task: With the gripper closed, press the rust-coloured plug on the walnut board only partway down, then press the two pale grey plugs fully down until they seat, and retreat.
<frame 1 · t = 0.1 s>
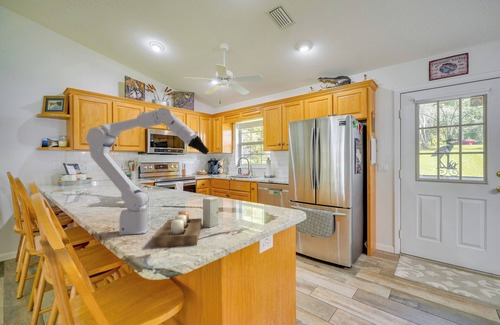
hand: (207, 152, 91), 32 cm above the worktop, tool tilted 50°, fingers open, 7 cm apart
skincare box: (210, 225, 95), on the worktop
grey plug middle: (180, 221, 83), point 5 cm above the worktop, slide at 0.0 cm
board: (180, 234, 83), on the worktop
grey plug near: (177, 226, 76), point 5 cm above the worktop, slide at 0.0 cm
rust plug: (183, 216, 90), point 5 cm above the worktop, slide at 0.0 cm
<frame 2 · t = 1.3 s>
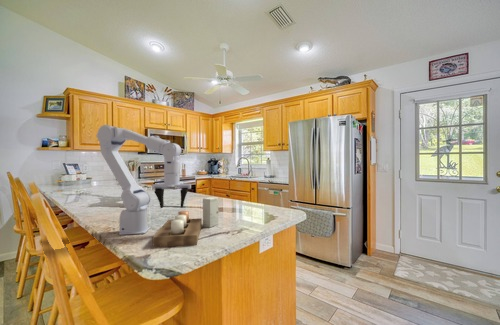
hand: (172, 207, 86), 10 cm above the worktop, tool pointing down, fingers open, 7 cm apart
nothing on the worktop moved.
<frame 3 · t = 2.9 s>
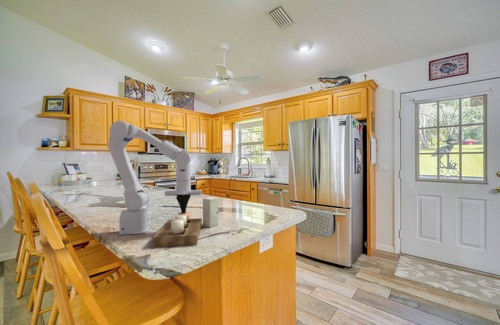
hand: (183, 212, 90), 7 cm above the worktop, tool pointing down, fingers closed, pressing on rust plug
rust plug: (183, 217, 90), point 5 cm above the worktop, slide at 0.4 cm, touching gripper
everything else where it was.
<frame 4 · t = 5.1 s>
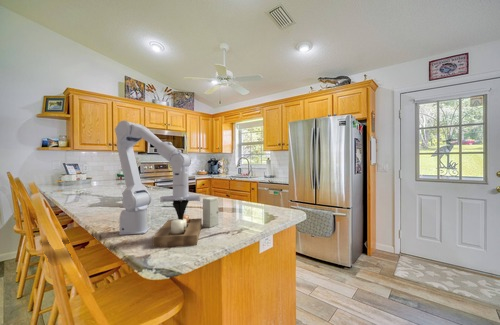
hand: (180, 220, 83), 6 cm above the worktop, tool pointing down, fingers closed, pressing on grey plug middle
grey plug middle: (180, 225, 83), point 4 cm above the worktop, slide at 1.5 cm, touching gripper
rust plug: (183, 220, 90), point 4 cm above the worktop, slide at 1.7 cm
everything else where it was.
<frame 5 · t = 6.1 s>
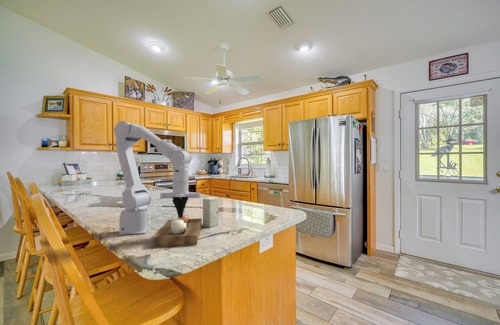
hand: (180, 217, 83), 7 cm above the worktop, tool pointing down, fingers closed
grey plug middle: (180, 228, 83), point 2 cm above the worktop, slide at 3.0 cm
everything else where it was.
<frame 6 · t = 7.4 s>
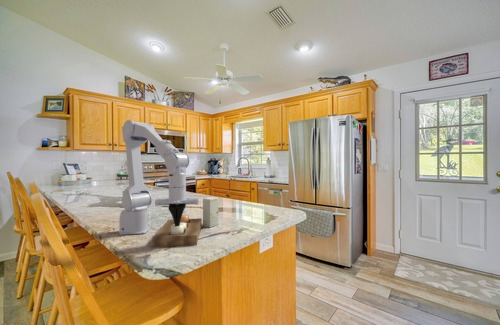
hand: (177, 225, 76), 6 cm above the worktop, tool pointing down, fingers closed, pressing on grey plug near
grey plug near: (177, 230, 76), point 4 cm above the worktop, slide at 1.5 cm, touching gripper
everything else where it was.
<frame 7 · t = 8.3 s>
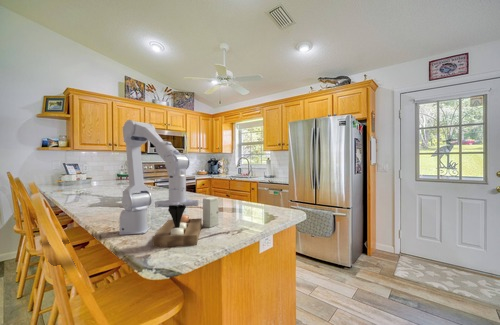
hand: (177, 227, 76), 5 cm above the worktop, tool pointing down, fingers closed
grey plug near: (177, 235, 76), point 2 cm above the worktop, slide at 3.0 cm
everything else where it was.
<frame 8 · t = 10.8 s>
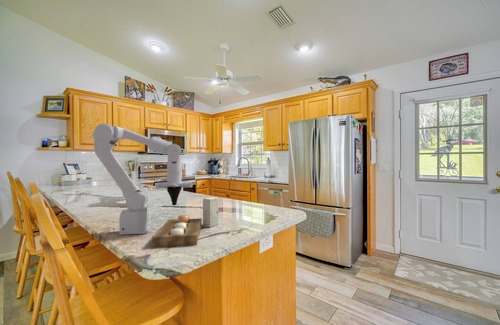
hand: (174, 204, 91), 10 cm above the worktop, tool pointing down, fingers closed
nothing on the worktop moved.
at the end: rust plug slide at 1.7 cm; grey plug middle slide at 3.0 cm; grey plug near slide at 3.0 cm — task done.
